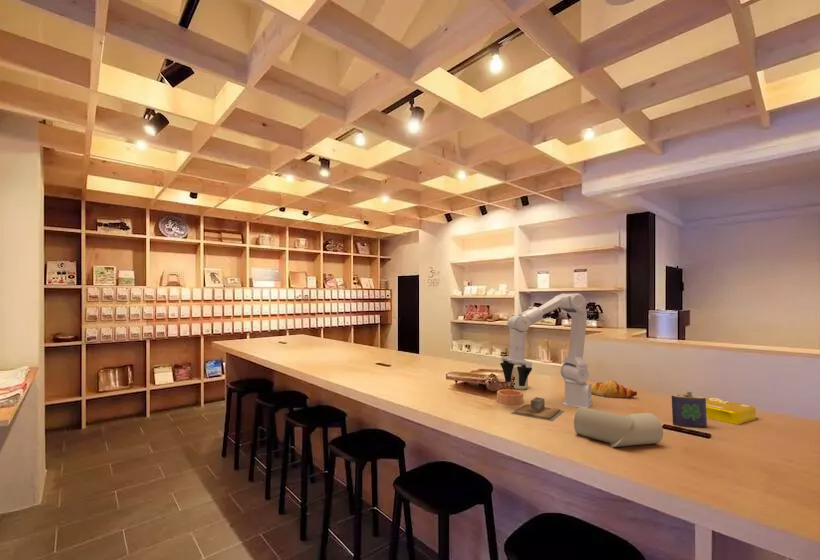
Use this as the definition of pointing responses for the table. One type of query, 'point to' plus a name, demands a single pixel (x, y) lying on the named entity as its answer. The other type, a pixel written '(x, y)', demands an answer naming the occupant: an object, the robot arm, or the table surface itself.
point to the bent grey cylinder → (618, 427)
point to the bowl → (510, 397)
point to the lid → (538, 409)
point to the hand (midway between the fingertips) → (514, 383)
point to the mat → (540, 418)
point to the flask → (689, 410)
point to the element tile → (729, 411)
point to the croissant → (612, 390)
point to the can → (516, 381)
